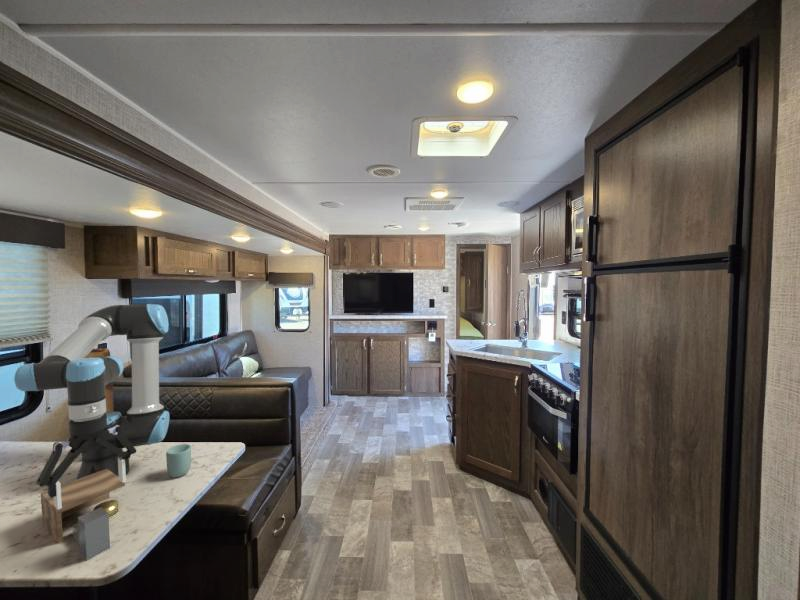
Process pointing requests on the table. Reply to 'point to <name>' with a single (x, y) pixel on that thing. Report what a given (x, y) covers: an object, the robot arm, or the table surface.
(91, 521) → the grey toy mallet
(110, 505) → the gold metal dome
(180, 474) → the cup
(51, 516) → the brown piece
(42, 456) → the table surface
